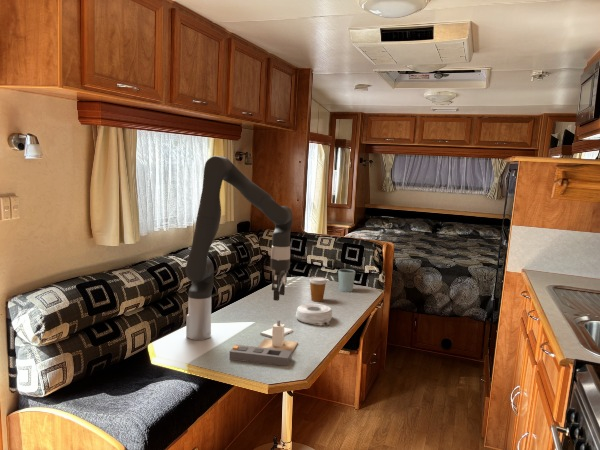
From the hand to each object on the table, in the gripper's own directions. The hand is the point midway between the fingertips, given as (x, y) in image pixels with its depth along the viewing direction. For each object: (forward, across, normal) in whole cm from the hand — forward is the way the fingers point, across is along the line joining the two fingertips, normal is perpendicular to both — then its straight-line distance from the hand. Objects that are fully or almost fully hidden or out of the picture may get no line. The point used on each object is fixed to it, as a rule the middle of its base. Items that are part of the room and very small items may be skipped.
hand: (279, 297), depth 182 cm
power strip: (+20, +14, -3) cm, 25 cm away
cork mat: (+20, 0, 0) cm, 20 cm away
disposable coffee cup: (+20, -71, +4) cm, 74 cm away
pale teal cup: (+20, -98, +17) cm, 101 cm away
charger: (+19, 0, 0) cm, 19 cm away
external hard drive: (+21, -14, -4) cm, 26 cm away
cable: (+20, -38, +8) cm, 44 cm away
